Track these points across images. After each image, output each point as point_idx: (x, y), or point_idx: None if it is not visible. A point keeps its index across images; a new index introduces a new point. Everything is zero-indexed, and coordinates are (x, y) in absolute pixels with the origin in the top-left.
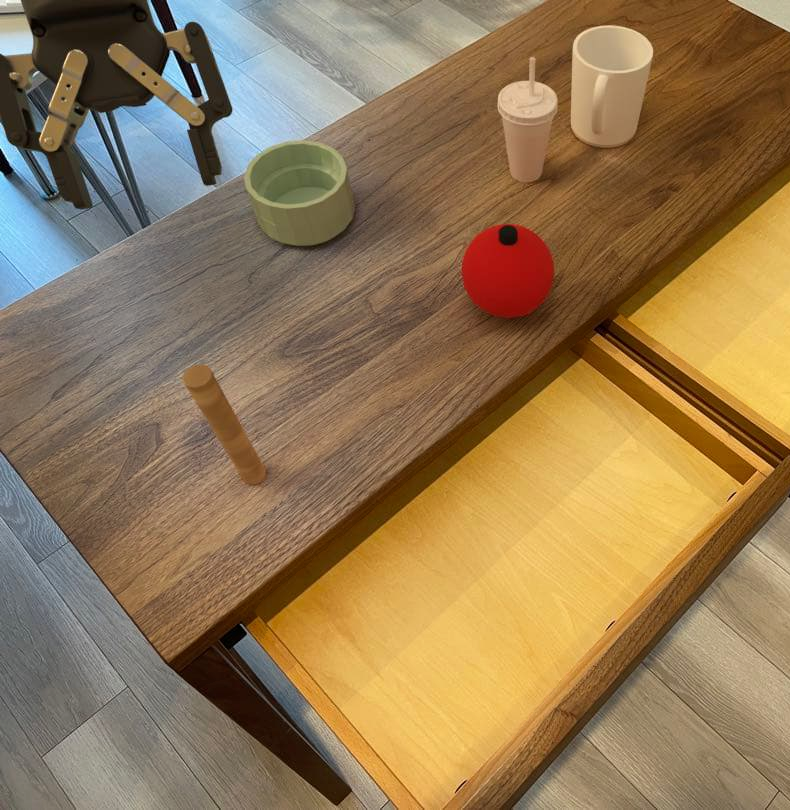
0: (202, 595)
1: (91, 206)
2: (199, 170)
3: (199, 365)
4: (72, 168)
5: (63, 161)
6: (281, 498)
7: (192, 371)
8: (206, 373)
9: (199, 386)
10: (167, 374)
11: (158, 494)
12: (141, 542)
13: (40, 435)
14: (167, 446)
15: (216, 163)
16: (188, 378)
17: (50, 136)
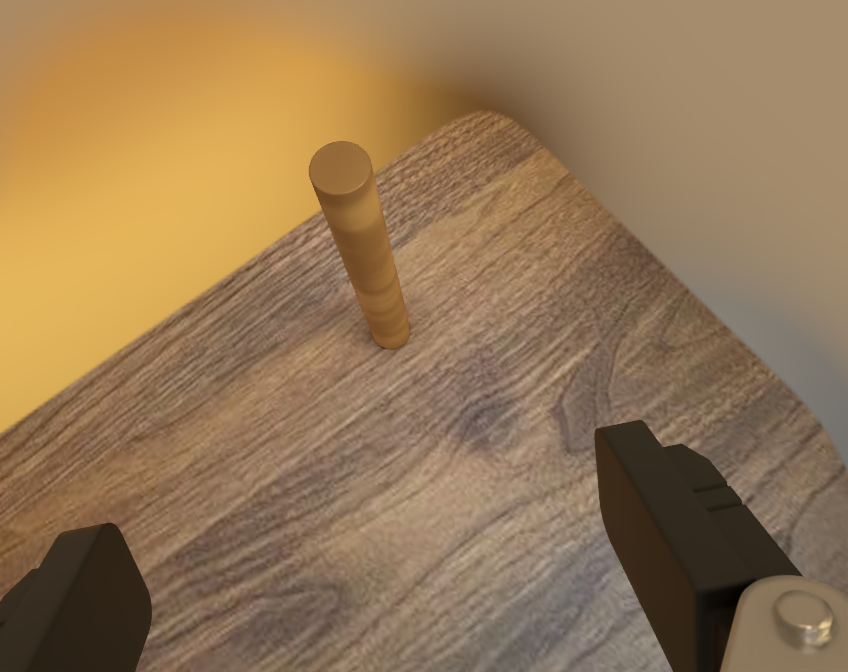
0: (456, 160)
1: (601, 503)
2: (86, 548)
3: (335, 191)
4: (654, 526)
5: (701, 543)
6: (349, 287)
7: (350, 177)
8: (318, 168)
9: (334, 143)
10: (571, 570)
11: (543, 313)
12: (555, 239)
13: (781, 451)
14: (543, 401)
15: (9, 602)
16: (358, 162)
17: (805, 654)
